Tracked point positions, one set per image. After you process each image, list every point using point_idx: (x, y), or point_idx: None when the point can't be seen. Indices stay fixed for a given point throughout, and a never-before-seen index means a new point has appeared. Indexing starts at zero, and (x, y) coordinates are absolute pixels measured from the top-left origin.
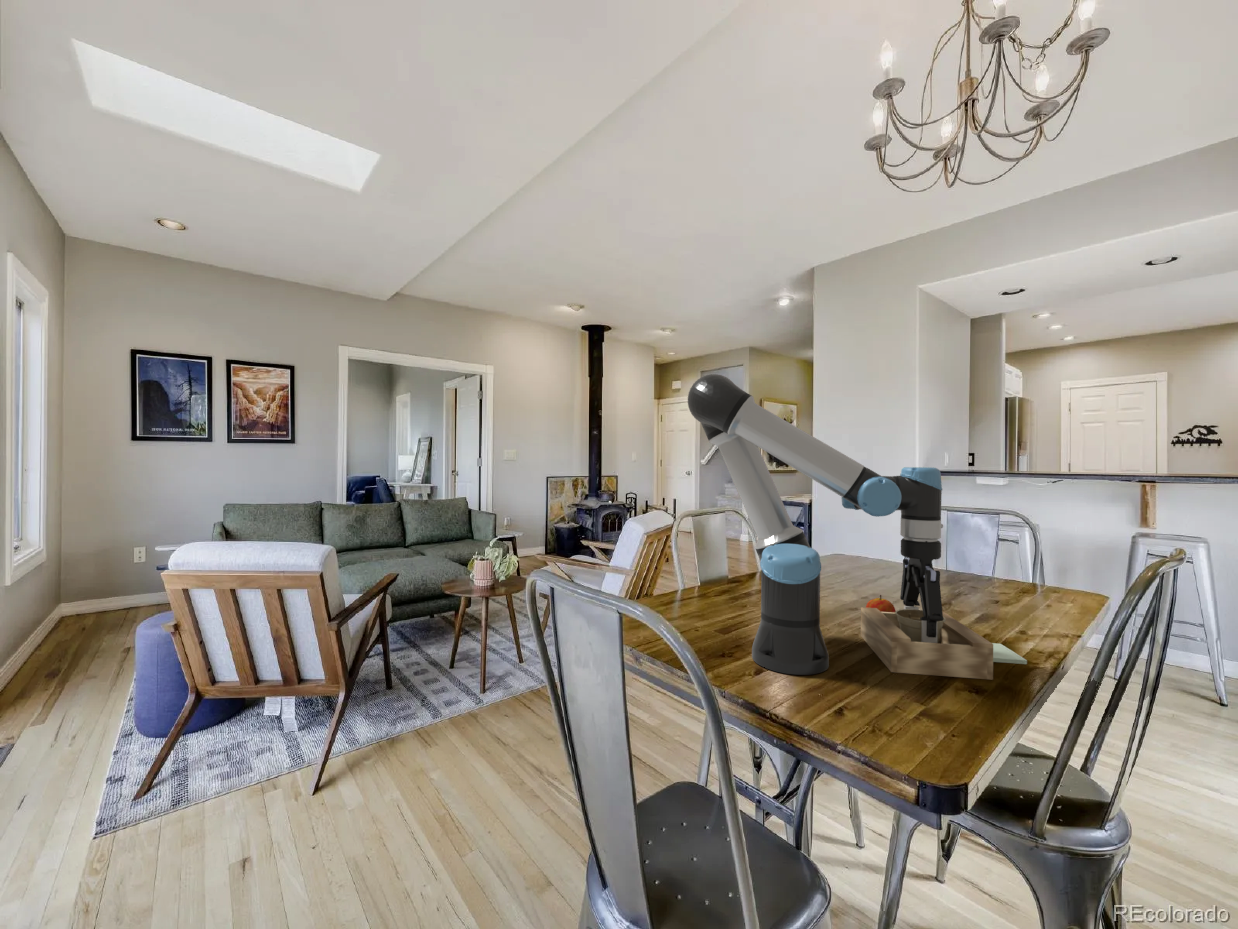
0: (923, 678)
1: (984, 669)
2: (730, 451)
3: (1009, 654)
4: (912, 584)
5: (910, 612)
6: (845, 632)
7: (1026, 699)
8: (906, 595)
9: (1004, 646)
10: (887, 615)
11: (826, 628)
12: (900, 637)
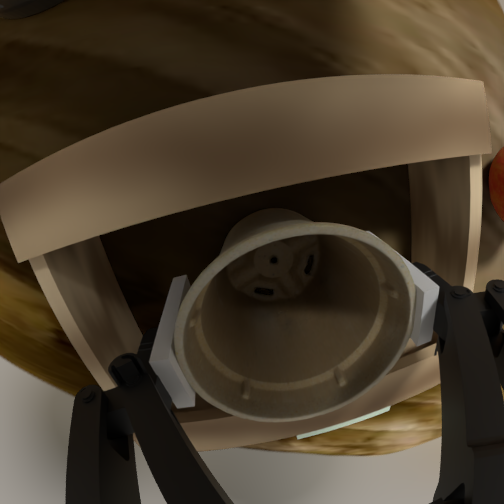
0: None
1: None
2: None
3: None
4: (458, 444)
5: (400, 301)
6: (420, 49)
7: None
8: (461, 337)
9: (373, 415)
10: (463, 191)
11: (429, 5)
12: (9, 223)
